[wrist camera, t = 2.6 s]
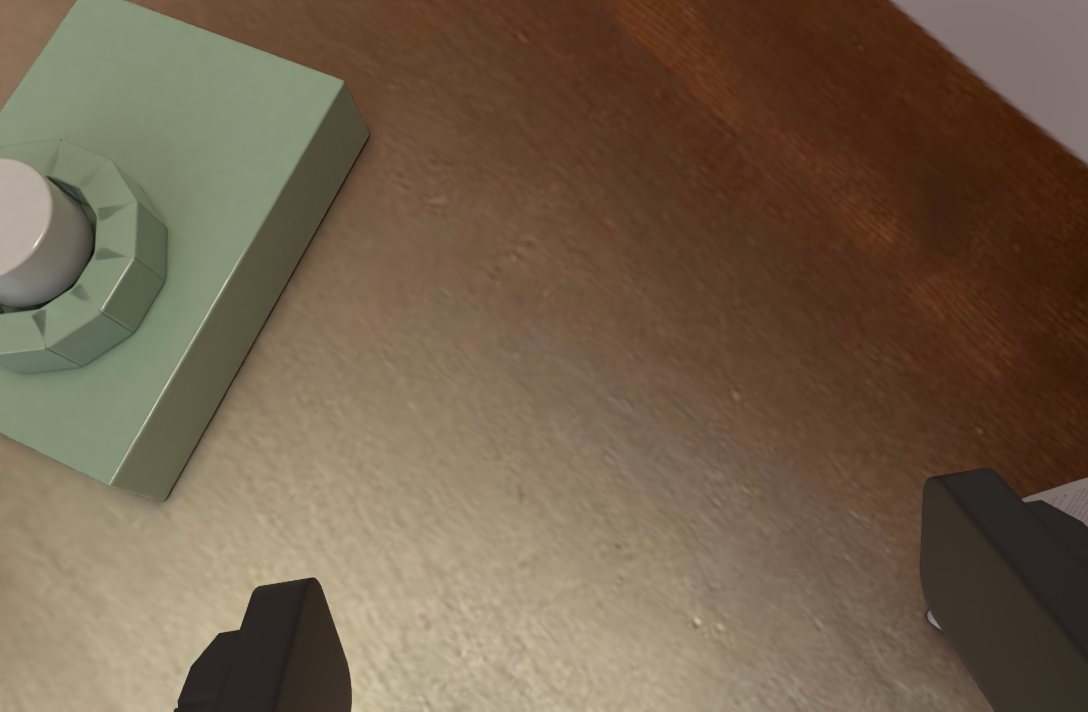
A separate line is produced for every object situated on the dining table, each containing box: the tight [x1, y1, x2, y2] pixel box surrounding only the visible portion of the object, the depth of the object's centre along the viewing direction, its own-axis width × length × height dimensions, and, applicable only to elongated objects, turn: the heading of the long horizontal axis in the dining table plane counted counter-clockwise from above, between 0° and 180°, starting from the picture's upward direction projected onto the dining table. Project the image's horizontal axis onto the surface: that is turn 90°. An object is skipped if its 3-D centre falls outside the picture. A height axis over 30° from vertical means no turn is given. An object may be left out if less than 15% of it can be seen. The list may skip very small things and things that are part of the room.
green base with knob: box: [0, 0, 369, 502], centre depth 28 cm, size 14×10×5 cm
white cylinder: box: [0, 158, 93, 307], centre depth 24 cm, size 4×4×2 cm
